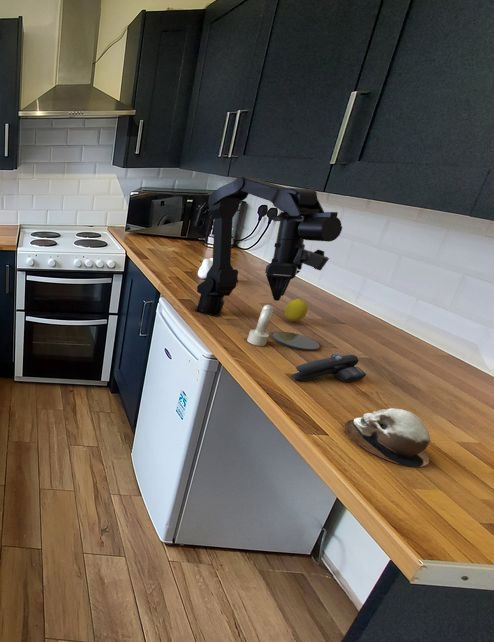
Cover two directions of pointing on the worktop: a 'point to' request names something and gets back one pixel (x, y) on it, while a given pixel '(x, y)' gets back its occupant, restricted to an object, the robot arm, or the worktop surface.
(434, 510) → the worktop surface
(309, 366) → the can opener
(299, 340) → the coaster
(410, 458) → the skull
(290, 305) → the lemon
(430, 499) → the worktop surface
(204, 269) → the white rounded lump
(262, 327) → the pestle
